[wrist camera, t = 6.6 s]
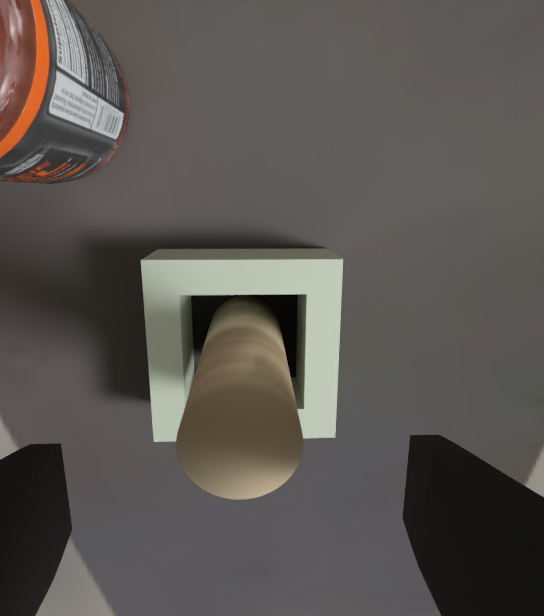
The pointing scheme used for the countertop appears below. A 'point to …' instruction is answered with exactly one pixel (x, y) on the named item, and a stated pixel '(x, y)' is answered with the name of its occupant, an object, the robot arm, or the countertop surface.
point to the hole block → (242, 281)
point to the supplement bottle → (56, 94)
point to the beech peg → (241, 406)
